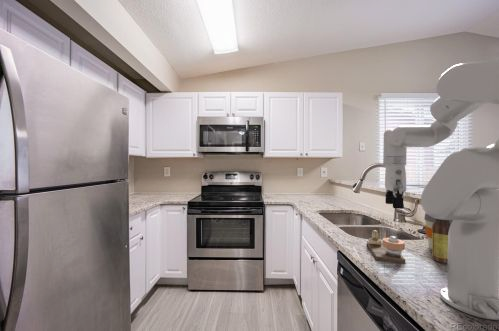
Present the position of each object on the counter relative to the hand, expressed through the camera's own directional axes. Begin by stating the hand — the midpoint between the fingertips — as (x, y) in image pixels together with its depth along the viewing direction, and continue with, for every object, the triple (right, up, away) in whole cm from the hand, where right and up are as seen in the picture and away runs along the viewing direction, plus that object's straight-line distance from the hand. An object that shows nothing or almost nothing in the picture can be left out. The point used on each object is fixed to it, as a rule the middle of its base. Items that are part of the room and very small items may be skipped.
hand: (393, 206), depth 88 cm
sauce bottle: (+18, -21, -1) cm, 27 cm away
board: (0, -20, +6) cm, 21 cm away
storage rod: (0, -19, 0) cm, 19 cm away
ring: (0, -16, 0) cm, 16 cm away
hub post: (-1, -19, +12) cm, 22 cm away
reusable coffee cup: (+27, -21, +10) cm, 36 cm away
